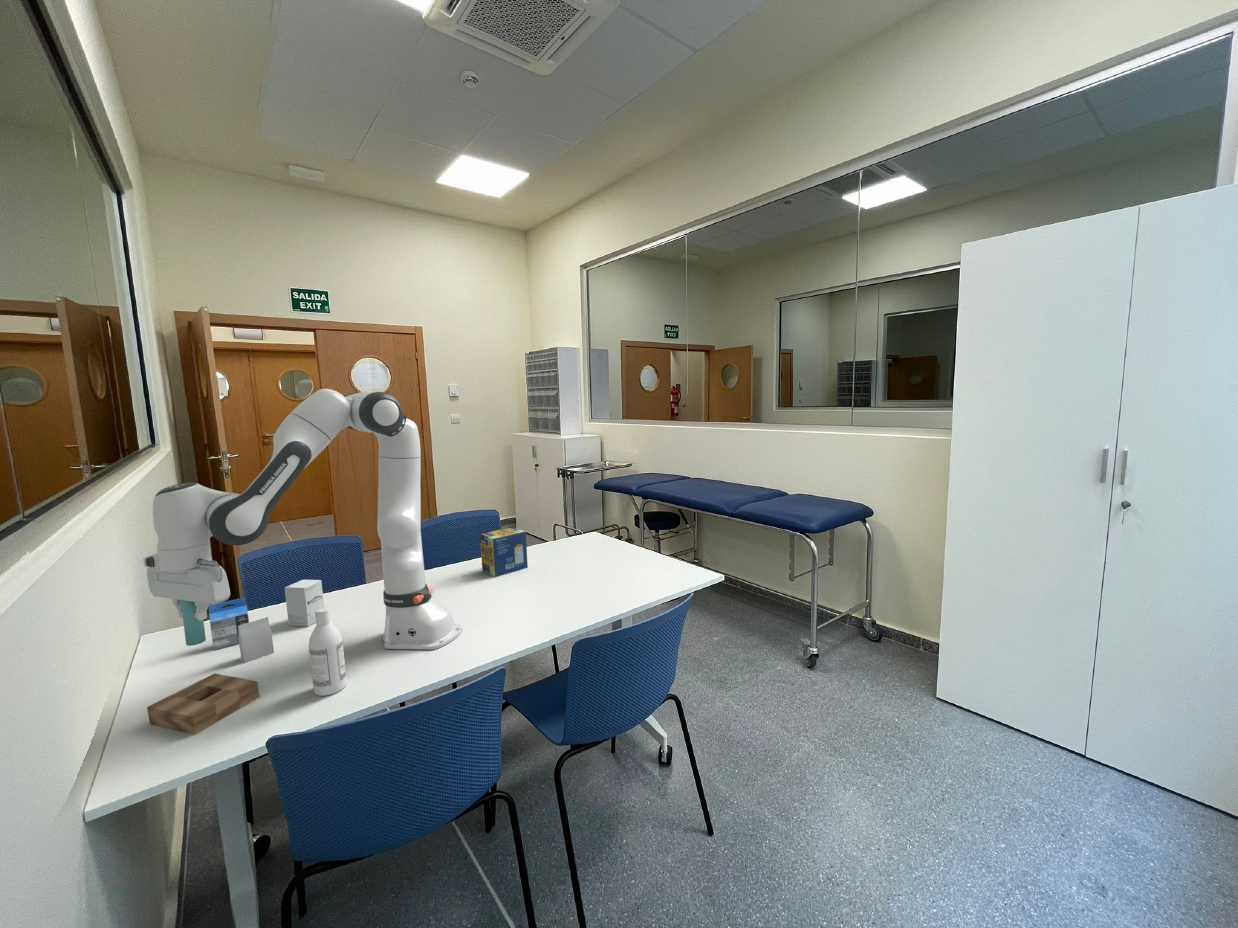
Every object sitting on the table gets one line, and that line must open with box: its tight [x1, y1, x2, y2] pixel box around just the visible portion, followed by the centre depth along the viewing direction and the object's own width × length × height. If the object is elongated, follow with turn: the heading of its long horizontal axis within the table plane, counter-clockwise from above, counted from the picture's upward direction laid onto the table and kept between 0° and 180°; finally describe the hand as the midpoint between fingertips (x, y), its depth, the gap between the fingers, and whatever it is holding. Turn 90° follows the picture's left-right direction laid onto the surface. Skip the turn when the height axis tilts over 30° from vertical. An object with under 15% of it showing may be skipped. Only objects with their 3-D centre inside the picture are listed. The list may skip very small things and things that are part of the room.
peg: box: [181, 600, 207, 646], centre depth 113 cm, size 3×3×12 cm
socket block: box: [146, 673, 260, 735], centre depth 115 cm, size 14×14×4 cm
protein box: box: [479, 526, 528, 578], centre depth 204 cm, size 10×15×16 cm
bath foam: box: [308, 606, 348, 697], centre depth 121 cm, size 7×7×20 cm
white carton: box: [238, 616, 275, 664], centre depth 139 cm, size 4×7×10 cm, turn 139°
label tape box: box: [208, 597, 250, 650], centre depth 147 cm, size 9×4×12 cm, turn 128°
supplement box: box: [284, 579, 325, 628], centre depth 161 cm, size 7×7×13 cm
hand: (193, 618), depth 113 cm, fingers closed on peg, 3 cm apart
